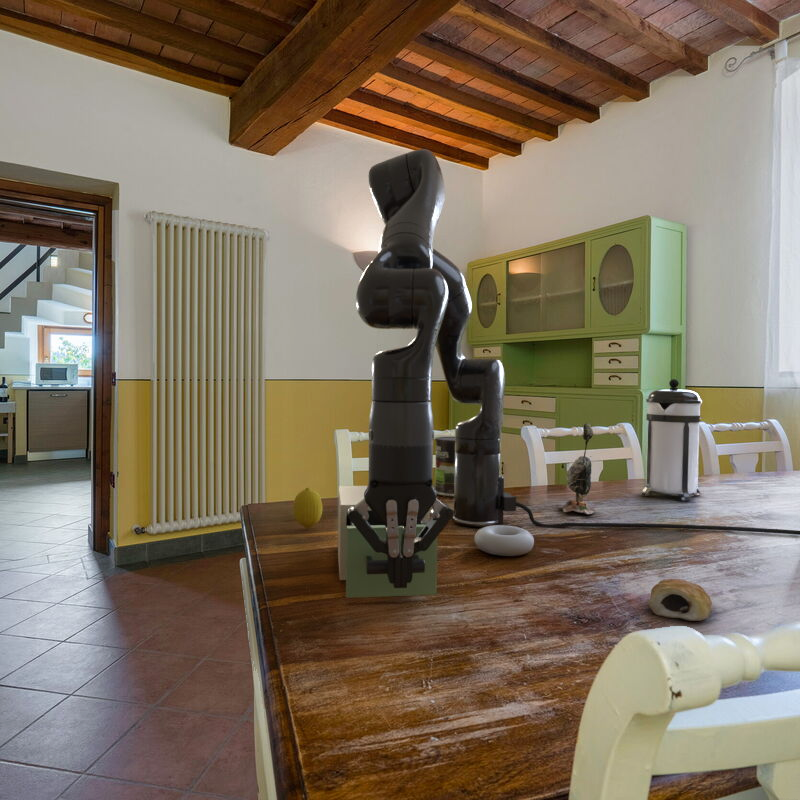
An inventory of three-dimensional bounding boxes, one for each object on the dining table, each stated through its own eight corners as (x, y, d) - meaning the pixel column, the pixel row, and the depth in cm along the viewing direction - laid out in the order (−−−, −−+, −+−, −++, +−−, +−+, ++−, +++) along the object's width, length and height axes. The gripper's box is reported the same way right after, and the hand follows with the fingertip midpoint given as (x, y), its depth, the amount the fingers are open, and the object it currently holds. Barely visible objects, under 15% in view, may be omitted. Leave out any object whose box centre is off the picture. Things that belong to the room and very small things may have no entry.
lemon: (316, 534, 105) (316, 491, 105) (288, 532, 106) (288, 489, 106) (326, 526, 110) (326, 485, 110) (299, 524, 112) (299, 484, 111)
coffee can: (446, 498, 139) (447, 440, 139) (427, 490, 149) (428, 437, 148) (482, 495, 143) (483, 439, 143) (462, 488, 153) (463, 436, 152)
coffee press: (720, 502, 138) (724, 379, 137) (654, 501, 138) (657, 378, 137) (685, 489, 155) (688, 379, 155) (626, 488, 156) (629, 379, 155)
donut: (462, 546, 99) (498, 562, 90) (463, 526, 99) (498, 540, 90) (508, 540, 103) (546, 553, 94) (508, 521, 103) (546, 533, 94)
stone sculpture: (600, 508, 130) (603, 421, 129) (591, 518, 120) (593, 424, 119) (565, 504, 134) (566, 419, 133) (552, 513, 124) (554, 422, 123)
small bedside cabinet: (428, 577, 82) (429, 503, 82) (339, 580, 81) (340, 504, 80) (413, 547, 97) (413, 485, 97) (337, 549, 95) (338, 485, 95)
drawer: (443, 608, 69) (444, 535, 69) (347, 611, 67) (348, 537, 67) (419, 561, 87) (420, 503, 86) (343, 563, 85) (343, 504, 85)
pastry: (660, 591, 78) (661, 564, 78) (716, 603, 74) (717, 574, 74) (646, 613, 70) (647, 583, 70) (707, 628, 66) (709, 596, 66)
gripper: (449, 436, 71) (447, 573, 72) (343, 436, 69) (342, 577, 70) (464, 443, 64) (461, 595, 64) (345, 443, 62) (344, 600, 62)
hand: (399, 585), depth 67 cm, fingers closed
